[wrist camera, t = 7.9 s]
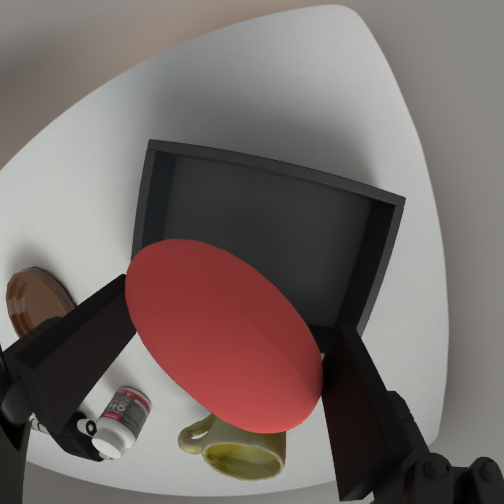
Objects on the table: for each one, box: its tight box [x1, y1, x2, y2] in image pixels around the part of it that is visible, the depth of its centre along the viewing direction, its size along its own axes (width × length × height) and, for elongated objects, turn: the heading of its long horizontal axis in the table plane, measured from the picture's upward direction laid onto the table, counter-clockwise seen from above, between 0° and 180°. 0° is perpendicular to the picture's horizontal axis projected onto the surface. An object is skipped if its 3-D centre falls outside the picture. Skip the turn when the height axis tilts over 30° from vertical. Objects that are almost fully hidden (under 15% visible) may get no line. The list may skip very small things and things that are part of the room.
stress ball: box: [125, 239, 324, 433], centre depth 10 cm, size 5×9×6 cm
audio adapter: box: [29, 412, 114, 462], centre depth 34 cm, size 11×5×25 cm
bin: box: [131, 139, 406, 360], centre depth 23 cm, size 15×20×6 cm
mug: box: [178, 413, 286, 481], centre depth 28 cm, size 12×10×10 cm
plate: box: [6, 267, 75, 338], centre depth 29 cm, size 14×14×2 cm
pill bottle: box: [92, 387, 151, 459], centre depth 27 cm, size 5×5×10 cm
